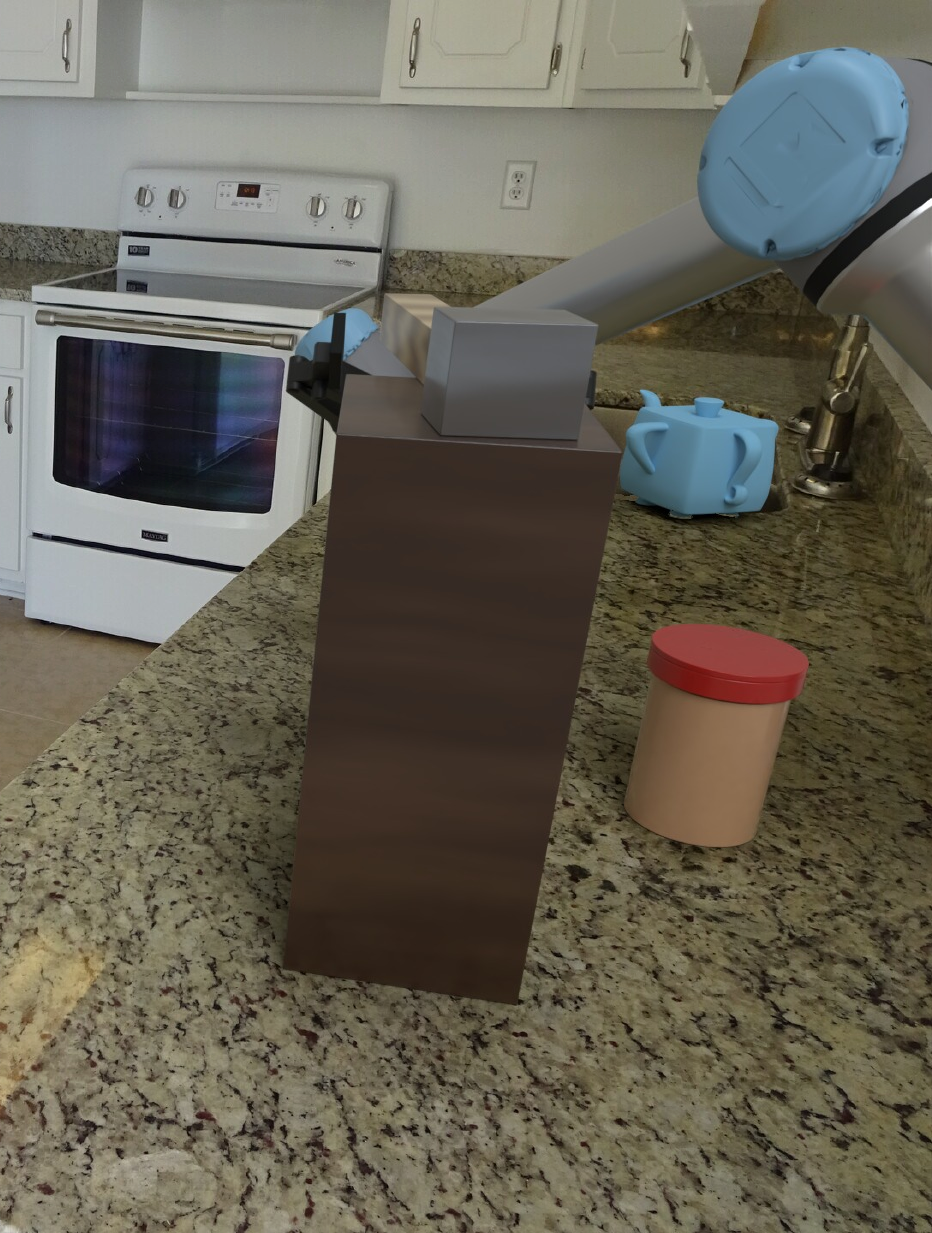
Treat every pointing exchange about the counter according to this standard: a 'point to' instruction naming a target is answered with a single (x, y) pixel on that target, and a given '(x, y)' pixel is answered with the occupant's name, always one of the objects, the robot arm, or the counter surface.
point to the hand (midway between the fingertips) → (449, 337)
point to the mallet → (493, 366)
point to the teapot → (698, 458)
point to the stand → (441, 692)
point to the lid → (727, 663)
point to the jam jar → (702, 766)
